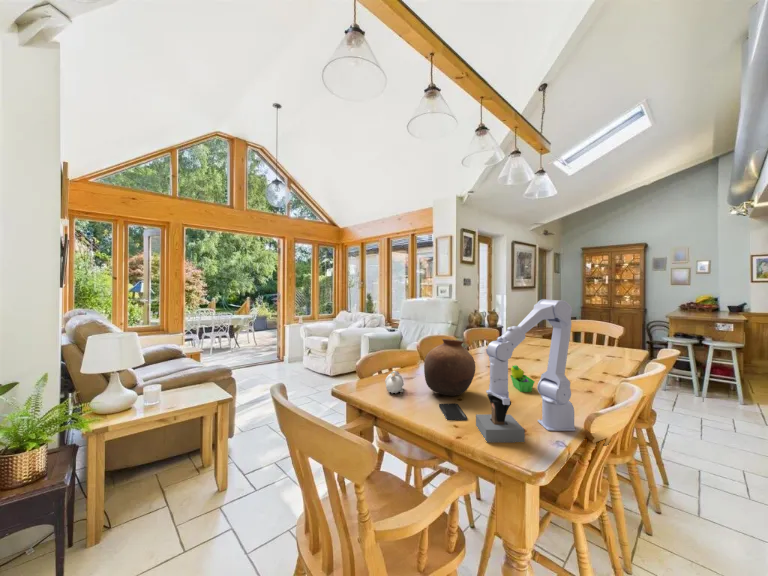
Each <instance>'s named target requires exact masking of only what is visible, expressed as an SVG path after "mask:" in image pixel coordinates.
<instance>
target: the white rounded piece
mask: <svg viewBox="0 0 768 576" xmlns="http://www.w3.org/2000/svg"><path fill="white" fill-rule="evenodd" d="M384 383H385V388H386V390H387V391H388V392H389V393H390V392H391V393H390V394H393V393H395V394H397V393H399V392H402V393H403V392H404V389H403V386H404V385H405V384H404V379H403V377H402V375H401V374H400V372H399V371H398V370H397V371H396V370H393V371H392V372H390V373H389V374H388V375H387V376H386V378H385V380H384Z"/></svg>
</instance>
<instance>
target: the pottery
mask: <svg viewBox="0 0 768 576" xmlns="http://www.w3.org/2000/svg"><path fill="white" fill-rule="evenodd" d="M441 340H442V341H443V343H442V344H439V345H437V346H435V347H433V348H432V349H431V350H429V351H428V353H426V356H425V357H424V358H425V359H424V364H423V368H424V369H423V372H424V373H423V374H424V380H425V383H426V385H427V387H428V388H429V389H430V390H431V391H432V392H434V393H437V394H440V395H444V396H452V397H453V396H460V395H462V394H464V393H465V392H466V391H467V390H468V389H469V387H470V385H471V384H472V382H473V379H474V377H475V373H476V362H475V361H476V360H475V358H474V357H473V355H472V354H471V353H470V352H469V351H468V350H467V349H466V348H464V347H463V345H462V344H464V341H463V340H457V339H450V338H442V339H441Z"/></svg>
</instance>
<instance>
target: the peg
mask: <svg viewBox="0 0 768 576" xmlns="http://www.w3.org/2000/svg"><path fill="white" fill-rule="evenodd" d="M491 414H492V422H493V424H494V425H505V421H504V422H498V421H497V417H496V410H495V406H494V403H493V402H492V406H491Z"/></svg>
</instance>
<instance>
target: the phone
mask: <svg viewBox="0 0 768 576" xmlns="http://www.w3.org/2000/svg"><path fill="white" fill-rule="evenodd" d="M438 404H439V405H438V408H439V409H440V411H441V413H442V414H444V415H443V416H445V417H444V418H445V420H446V419H447V420H446V421H448V420H459V421H467V420H468V416H467V415H466V414H465V412H464V411H463V409H462V408H461V407H460V404H458V403H456V402H455V403H438Z"/></svg>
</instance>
